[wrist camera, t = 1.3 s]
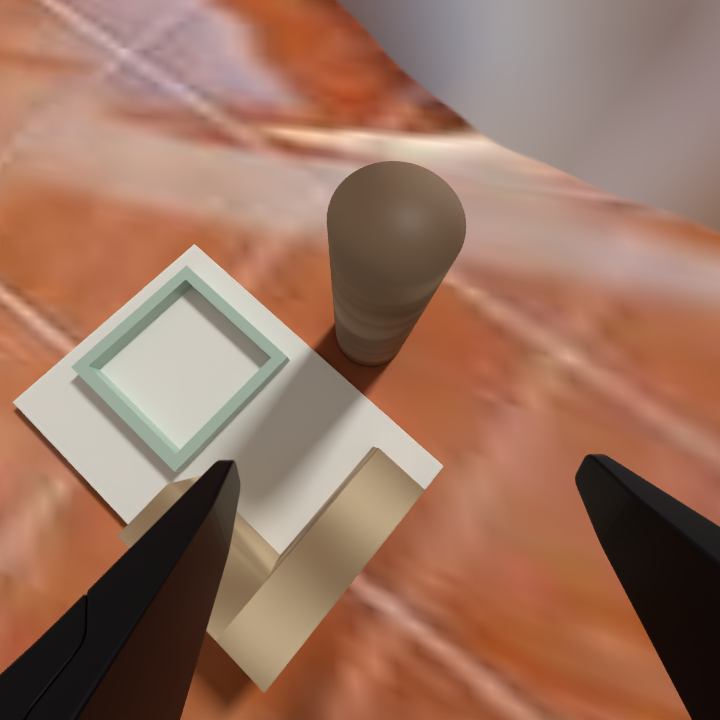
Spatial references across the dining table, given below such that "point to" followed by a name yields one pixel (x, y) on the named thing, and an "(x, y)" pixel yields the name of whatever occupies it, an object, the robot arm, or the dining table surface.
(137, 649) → the robot arm
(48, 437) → the board
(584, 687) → the dining table surface
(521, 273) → the dining table surface
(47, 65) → the dining table surface
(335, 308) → the walnut column
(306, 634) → the tan l-shaped block
